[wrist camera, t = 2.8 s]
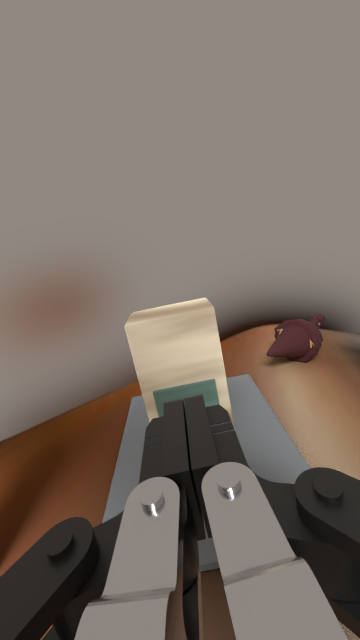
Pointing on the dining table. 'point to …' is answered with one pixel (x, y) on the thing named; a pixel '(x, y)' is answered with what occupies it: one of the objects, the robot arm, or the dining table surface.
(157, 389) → the birch block
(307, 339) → the maroon rounded piece
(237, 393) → the mat
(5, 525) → the dining table surface
